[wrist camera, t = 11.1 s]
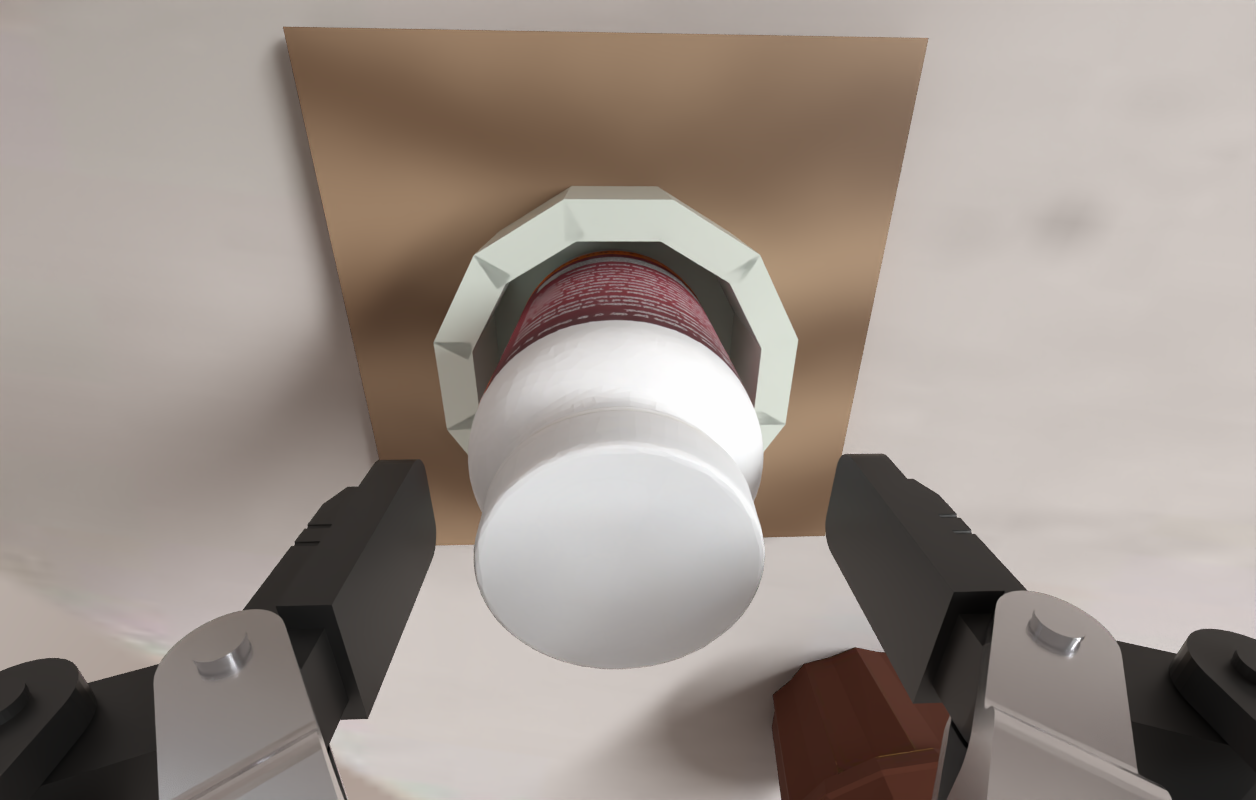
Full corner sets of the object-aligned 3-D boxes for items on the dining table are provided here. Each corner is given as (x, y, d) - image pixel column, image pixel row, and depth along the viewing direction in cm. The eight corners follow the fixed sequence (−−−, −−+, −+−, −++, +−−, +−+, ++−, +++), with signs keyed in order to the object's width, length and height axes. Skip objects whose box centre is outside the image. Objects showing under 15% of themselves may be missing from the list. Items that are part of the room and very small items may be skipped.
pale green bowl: (451, 185, 17) (410, 198, 13) (773, 186, 17) (819, 199, 14) (485, 462, 21) (462, 530, 17) (741, 458, 22) (770, 522, 18)
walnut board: (304, 34, 16) (282, 26, 15) (907, 44, 17) (928, 38, 16) (407, 527, 24) (398, 546, 23) (814, 518, 25) (824, 535, 23)
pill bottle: (487, 290, 18) (333, 486, 8) (665, 212, 17) (746, 320, 7) (570, 442, 20) (533, 735, 10) (728, 381, 19) (853, 638, 9)
